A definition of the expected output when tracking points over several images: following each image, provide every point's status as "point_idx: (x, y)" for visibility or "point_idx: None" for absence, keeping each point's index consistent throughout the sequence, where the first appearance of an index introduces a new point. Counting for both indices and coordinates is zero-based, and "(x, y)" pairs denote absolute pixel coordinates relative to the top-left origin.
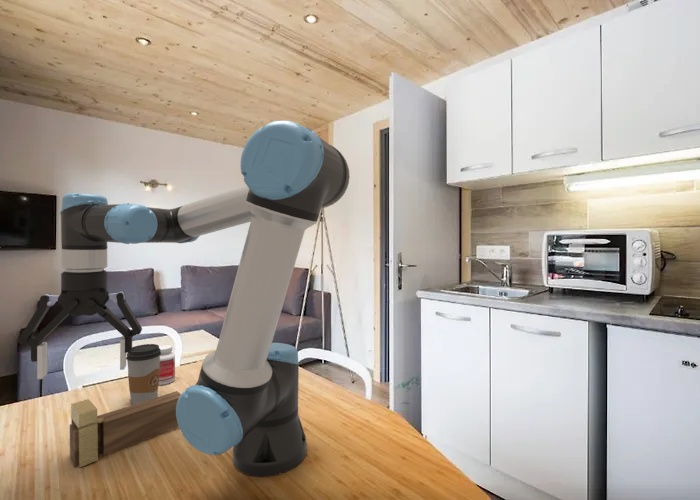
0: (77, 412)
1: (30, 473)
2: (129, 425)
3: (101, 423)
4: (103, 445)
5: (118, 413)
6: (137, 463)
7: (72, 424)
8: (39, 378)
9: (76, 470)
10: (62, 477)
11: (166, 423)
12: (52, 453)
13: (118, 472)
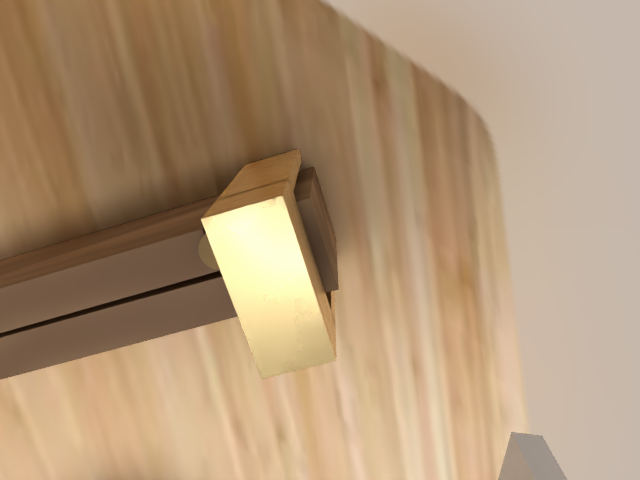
0: (292, 228)
1: (439, 208)
2: (121, 241)
3: None
4: None
5: (151, 295)
6: (110, 68)
7: (327, 285)
8: (530, 437)
9: (306, 142)
10: (344, 121)
11: (10, 264)
12: (392, 304)
13: (169, 42)
